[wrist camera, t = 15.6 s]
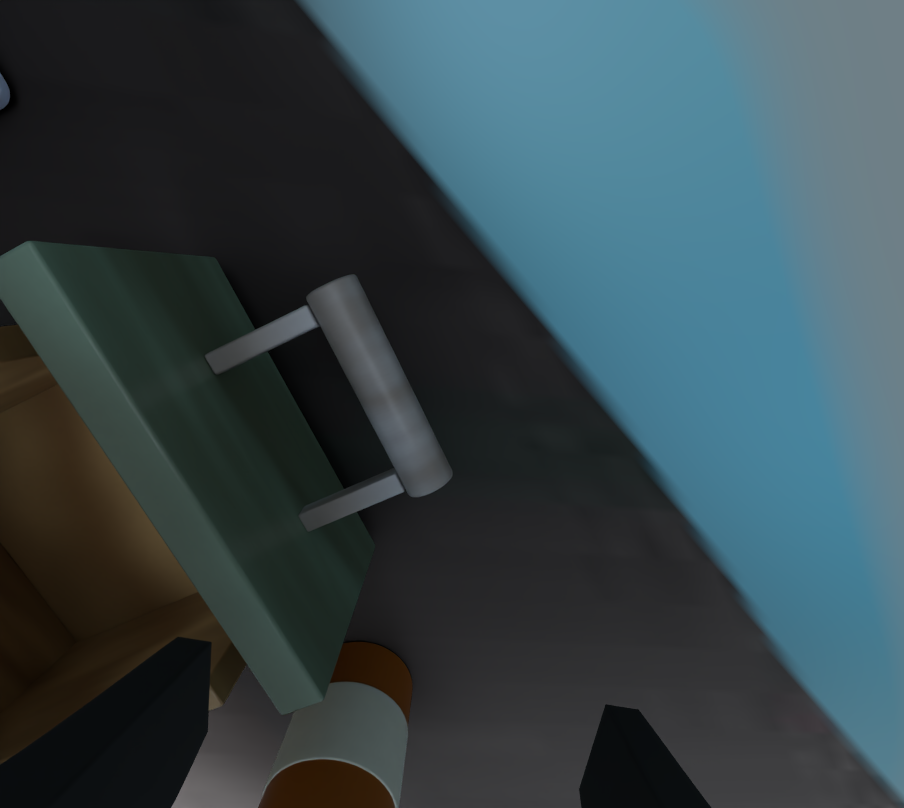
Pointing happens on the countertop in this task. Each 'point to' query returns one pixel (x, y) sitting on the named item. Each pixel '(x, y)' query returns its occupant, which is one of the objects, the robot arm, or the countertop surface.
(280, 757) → the bottle
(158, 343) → the drawer
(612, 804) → the robot arm
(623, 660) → the countertop surface
